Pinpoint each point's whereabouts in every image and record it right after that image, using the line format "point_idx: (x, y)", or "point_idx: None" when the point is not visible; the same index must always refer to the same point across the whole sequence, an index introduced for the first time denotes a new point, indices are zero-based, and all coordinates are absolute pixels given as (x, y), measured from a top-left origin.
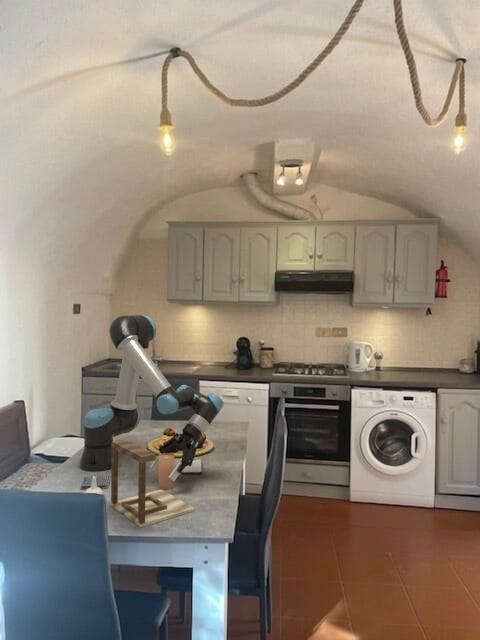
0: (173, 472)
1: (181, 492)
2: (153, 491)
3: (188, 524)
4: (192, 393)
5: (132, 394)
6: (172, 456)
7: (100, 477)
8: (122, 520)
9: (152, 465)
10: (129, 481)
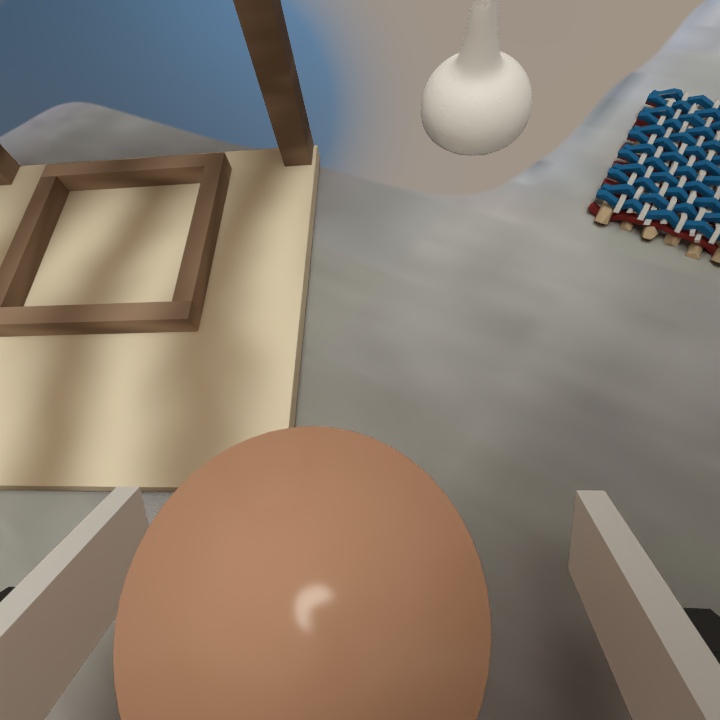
0: (70, 534)
1: None
2: (289, 408)
3: None
4: None
5: None
6: (136, 683)
7: None
8: (128, 149)
9: (588, 513)
10: (682, 395)
